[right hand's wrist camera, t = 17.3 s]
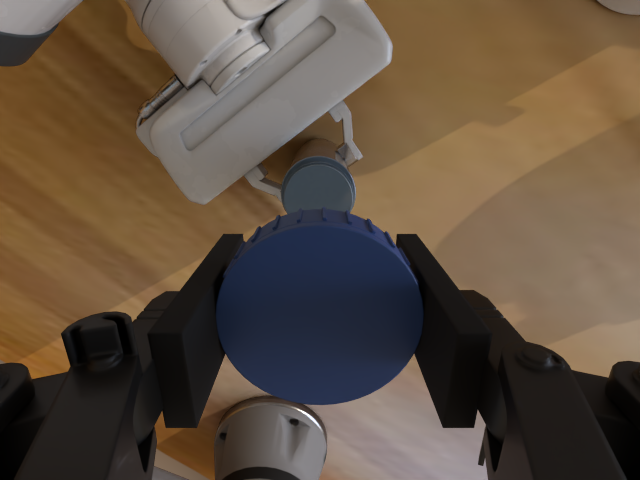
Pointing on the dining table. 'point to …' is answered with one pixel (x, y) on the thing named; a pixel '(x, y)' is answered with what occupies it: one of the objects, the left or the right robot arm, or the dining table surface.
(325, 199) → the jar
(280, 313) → the lid
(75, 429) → the right robot arm
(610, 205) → the dining table surface
